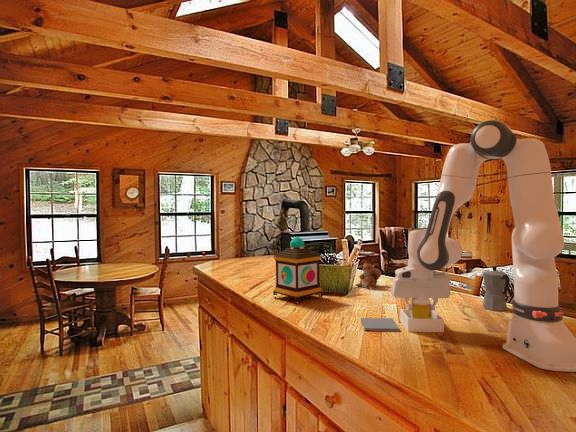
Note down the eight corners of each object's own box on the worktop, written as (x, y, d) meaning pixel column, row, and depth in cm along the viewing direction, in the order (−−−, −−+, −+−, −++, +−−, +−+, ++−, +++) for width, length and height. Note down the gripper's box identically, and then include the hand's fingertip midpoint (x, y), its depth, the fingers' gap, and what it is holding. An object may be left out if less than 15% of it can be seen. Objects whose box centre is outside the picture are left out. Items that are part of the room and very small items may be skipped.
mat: (399, 331, 129) (399, 328, 128) (365, 330, 129) (365, 328, 129) (392, 320, 140) (392, 318, 140) (360, 320, 141) (360, 318, 141)
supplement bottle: (432, 329, 130) (432, 293, 130) (412, 328, 131) (412, 293, 131) (428, 323, 136) (428, 289, 136) (410, 323, 138) (410, 289, 137)
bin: (443, 332, 127) (443, 319, 127) (408, 331, 128) (408, 318, 128) (432, 321, 139) (432, 309, 139) (400, 320, 140) (399, 309, 140)
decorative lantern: (269, 297, 179) (268, 236, 178) (298, 291, 192) (297, 234, 192) (297, 305, 164) (296, 239, 164) (326, 298, 177) (326, 236, 177)
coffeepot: (474, 304, 162) (474, 264, 162) (494, 304, 163) (494, 263, 163) (498, 314, 147) (498, 270, 146) (520, 313, 148) (519, 269, 147)
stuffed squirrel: (354, 287, 201) (353, 263, 201) (369, 283, 211) (369, 260, 210) (369, 290, 194) (369, 265, 193) (384, 286, 203) (384, 262, 203)
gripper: (446, 270, 136) (447, 307, 136) (390, 270, 137) (391, 307, 138) (453, 273, 129) (453, 312, 130) (394, 273, 131) (394, 311, 131)
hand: (420, 309), depth 134 cm, fingers closed on supplement bottle, 7 cm apart
